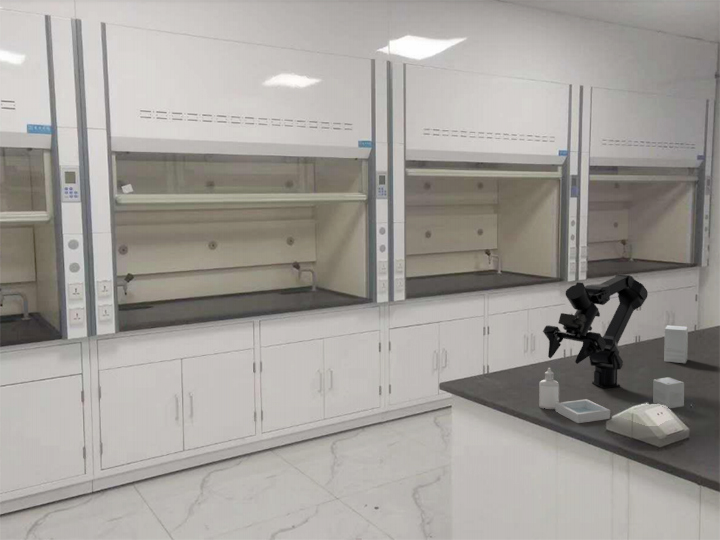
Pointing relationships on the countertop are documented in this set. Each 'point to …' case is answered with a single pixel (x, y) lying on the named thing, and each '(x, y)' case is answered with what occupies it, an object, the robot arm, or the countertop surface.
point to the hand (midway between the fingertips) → (562, 360)
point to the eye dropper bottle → (548, 391)
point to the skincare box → (668, 392)
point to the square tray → (582, 411)
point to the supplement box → (676, 344)
